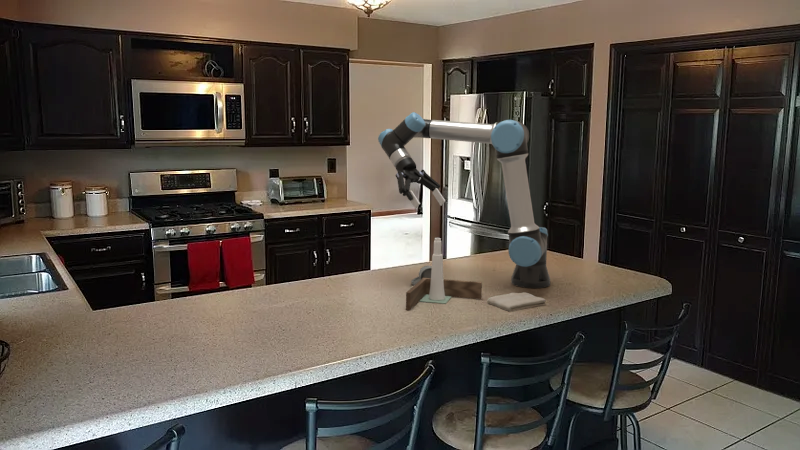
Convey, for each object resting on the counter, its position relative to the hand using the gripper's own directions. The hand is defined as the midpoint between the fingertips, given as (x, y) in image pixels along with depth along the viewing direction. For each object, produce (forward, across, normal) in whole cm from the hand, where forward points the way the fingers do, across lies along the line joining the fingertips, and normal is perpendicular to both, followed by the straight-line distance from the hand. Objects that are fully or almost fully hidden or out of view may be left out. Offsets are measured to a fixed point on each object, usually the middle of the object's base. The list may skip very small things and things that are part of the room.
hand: (430, 204), depth 229 cm
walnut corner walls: (+35, +10, -11) cm, 38 cm away
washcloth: (+48, -9, +1) cm, 49 cm away
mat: (+31, +8, -15) cm, 36 cm away
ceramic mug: (+19, -4, -28) cm, 34 cm away
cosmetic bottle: (+31, +8, -15) cm, 35 cm away
